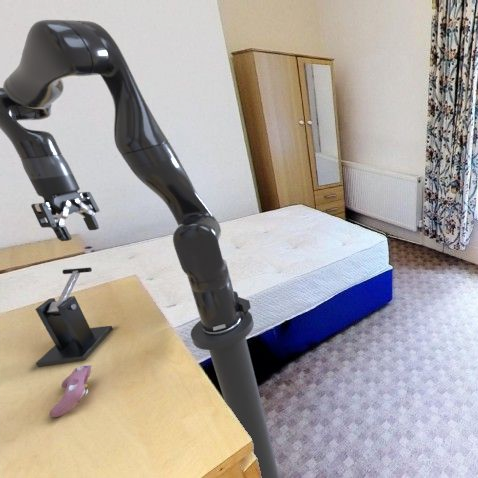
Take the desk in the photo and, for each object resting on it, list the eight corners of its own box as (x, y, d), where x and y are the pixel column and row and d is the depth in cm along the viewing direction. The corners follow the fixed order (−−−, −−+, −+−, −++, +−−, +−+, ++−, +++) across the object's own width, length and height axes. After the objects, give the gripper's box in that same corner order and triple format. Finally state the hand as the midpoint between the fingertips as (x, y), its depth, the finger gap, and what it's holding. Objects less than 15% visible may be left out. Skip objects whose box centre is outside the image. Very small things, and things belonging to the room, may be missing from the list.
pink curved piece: (79, 417, 66) (88, 388, 66) (46, 420, 63) (56, 390, 63) (90, 384, 74) (98, 358, 73) (61, 386, 71) (69, 359, 70)
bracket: (72, 334, 87) (50, 291, 81) (113, 329, 89) (94, 286, 83) (37, 367, 76) (9, 320, 70) (84, 360, 78) (60, 314, 73)
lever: (68, 272, 85) (61, 267, 83) (93, 270, 86) (88, 265, 84) (45, 317, 77) (37, 313, 75) (73, 314, 78) (67, 309, 77)
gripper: (39, 178, 74) (72, 242, 80) (91, 169, 87) (116, 225, 93) (3, 181, 73) (39, 246, 79) (61, 171, 86) (88, 227, 92)
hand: (81, 234), depth 86 cm, fingers open, 8 cm apart
